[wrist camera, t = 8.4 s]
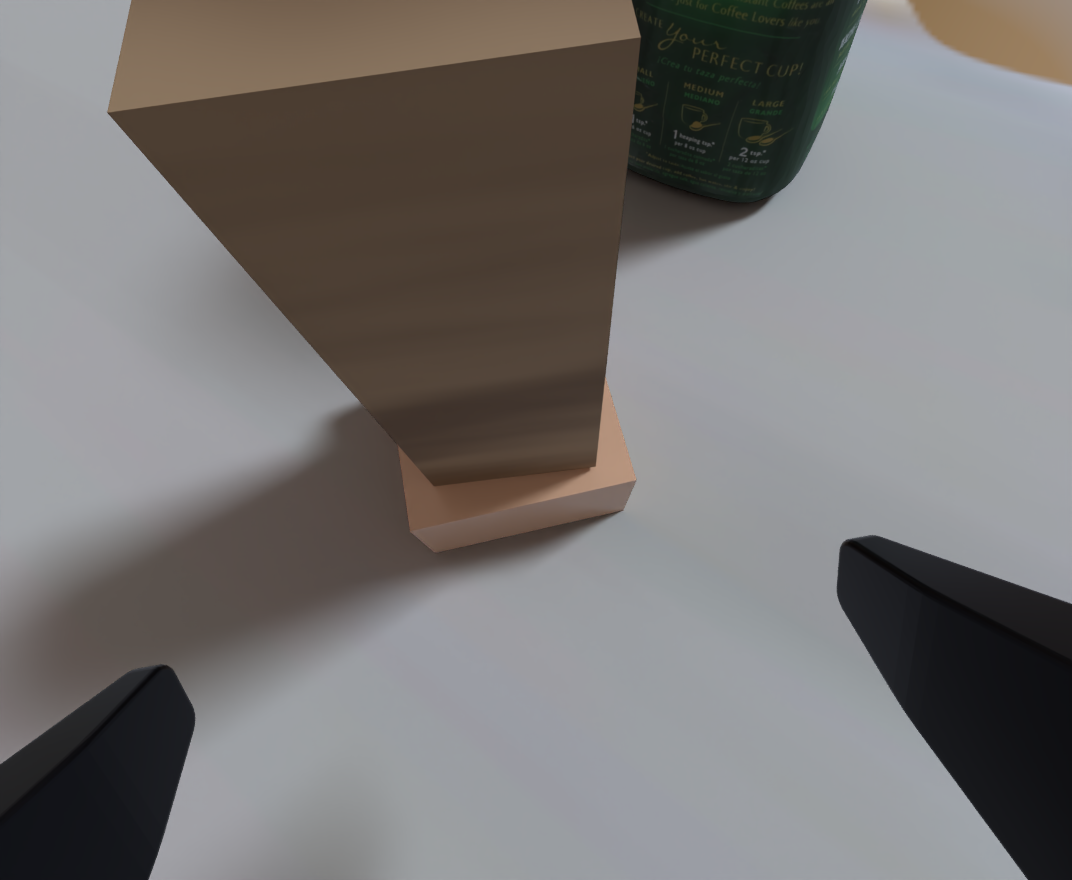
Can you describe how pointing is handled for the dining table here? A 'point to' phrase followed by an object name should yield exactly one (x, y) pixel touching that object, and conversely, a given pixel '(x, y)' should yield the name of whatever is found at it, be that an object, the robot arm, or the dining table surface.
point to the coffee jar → (735, 90)
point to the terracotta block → (520, 495)
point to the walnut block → (412, 198)
